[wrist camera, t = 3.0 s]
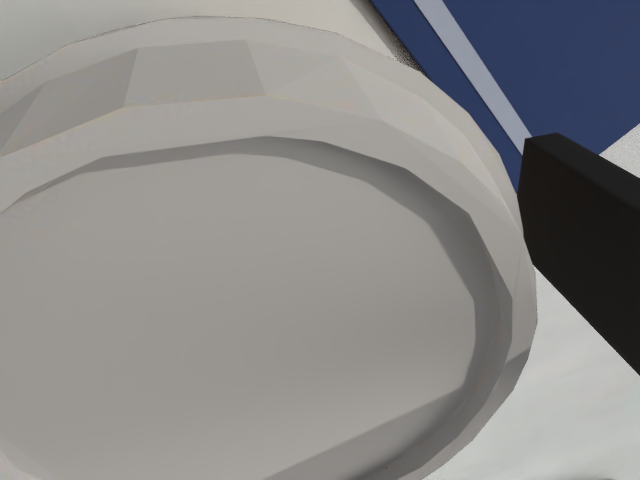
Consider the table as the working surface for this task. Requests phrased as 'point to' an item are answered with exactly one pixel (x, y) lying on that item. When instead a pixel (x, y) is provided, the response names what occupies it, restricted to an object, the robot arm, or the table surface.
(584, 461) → the table surface
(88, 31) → the table surface
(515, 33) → the napkin
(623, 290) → the robot arm
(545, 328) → the table surface
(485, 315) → the disposable coffee cup
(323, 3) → the table surface
